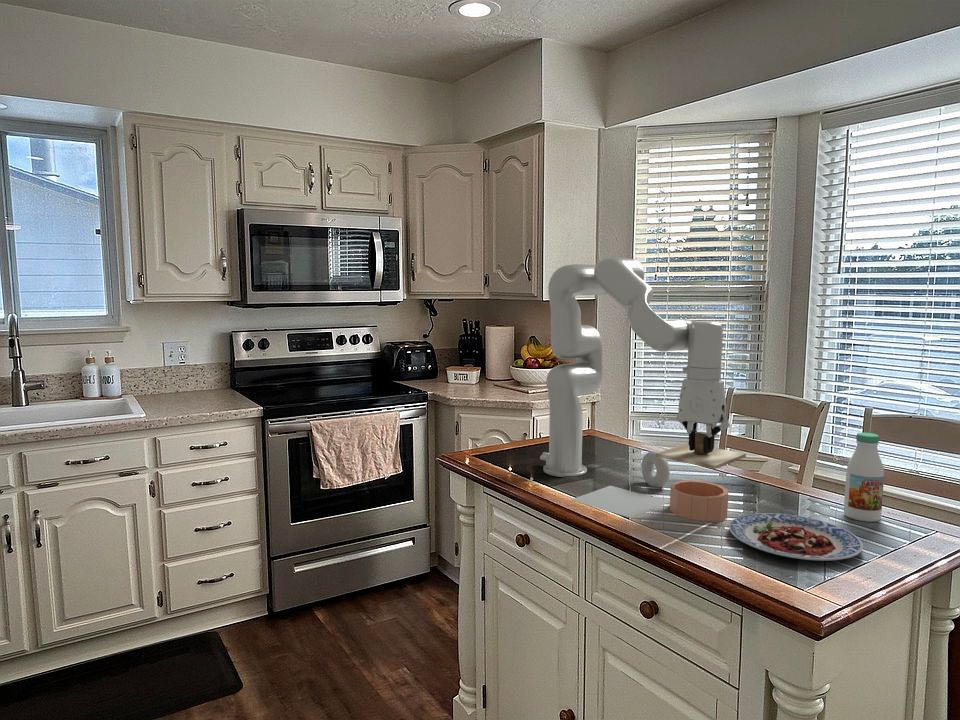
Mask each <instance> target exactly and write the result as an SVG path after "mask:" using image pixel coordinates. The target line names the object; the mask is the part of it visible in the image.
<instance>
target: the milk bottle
mask: <svg viewBox="0 0 960 720" xmlns="http://www.w3.org/2000/svg"><path fill="white" fill-rule="evenodd" d="M855 442H856V448H855V450H854V452H853V454H852V455H851V457H850V459H849V460H848V463H847V467H846V474H845V484H844V485H845V487H844V501H843V514H844V516H845V517H847V518H849V519H852V520H856V521H861V522H867V523H871V522H872V523H875V522H879V521H880V520H881V518H882V511H883V510H882V508H883V498H884V497H883V496H884V481H885V469H884V464H883V461H882V459H881V457H880V454H879V450H878V446H879V443H880V436H879V435H878V434H876V433H873V432H872V433H871V432H858V433H857V434H856V441H855Z"/></svg>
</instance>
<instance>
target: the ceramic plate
mask: <svg viewBox="0 0 960 720" xmlns="http://www.w3.org/2000/svg"><path fill="white" fill-rule="evenodd" d="M728 529H729V532H730V533H731V534H732V535H733V537H735V538H736V539H737V540H739V542H742V543H743V544H746V545H747V546H750V547H751V548H755V549H757V550H760V551H763V552H765V553H769V554H773V555H776V556H779V557H780V556H781V557H786V558H792V559H799V560H805V561H818V562H819V561H824V562H825V561H839V560H844V559H850V558H853V557H856V556H858V555H859V554H860V553H861V552H862V551H863V549H864V544H863V542H862V540H861V539H860V538H859V537H858V536H856V535H855V534H853V533H852V532H851V531H849V530H847V529H846V528H842V527H840V526H839V525H836V524H833V523H830V522H827V521H824V520H820V519H815V518H812V517H808V516H807V517H806V516H803V515H795V514H787V513H775V512H774V513H773V512H765V513H764V512H761V513H750V514H745V515H741V516H738V517H736V518H734V519H732V520H731V521H730V523H729V524H728Z"/></svg>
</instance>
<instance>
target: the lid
mask: <svg viewBox="0 0 960 720" xmlns="http://www.w3.org/2000/svg"><path fill="white" fill-rule="evenodd" d="M706 435H707V432H706V431H698V430H697V432H695V445H694V450H693V451H691V450H689V447H690V446H689V442H687V443H683V444H681V445H677V446H674V447H671V448H667V449H666V450H662V451H658V453H656V457H660V458H665V459H666V460H670V461H675V462H680V463H684V464H689V465H694V466H699V467H705V468H709V469H714V470H717V469H720V468H722V467H725V466H727V465H730V464H731V463H735V462H737V461H739V460H741V459H745V458H746V456H747V454H746V453H744V452H738V451H732V450H727V449H722V448H717V447H714V449H713V451H712V452H710V453H707V454H706V453H704V437H706Z"/></svg>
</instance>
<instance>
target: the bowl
mask: <svg viewBox="0 0 960 720" xmlns="http://www.w3.org/2000/svg"><path fill="white" fill-rule="evenodd" d="M669 501H670V502H669V511H670V512H671V513H673V514H675V515H676V516H678V517H682V518H684V519H689V520H696V521H705V522H707V523H708V524H710V523H711V524H712V523H720V522H723V521H724V520H726V519H728V505H729V491H728V489H727V488H726V487H723V486H722V485H720V484H717V483H712V482H709V481H703V480H702V481H700V480H691V479H690V480H679V481H675V482H672V483H670V493H669ZM708 521H709V522H708Z"/></svg>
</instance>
